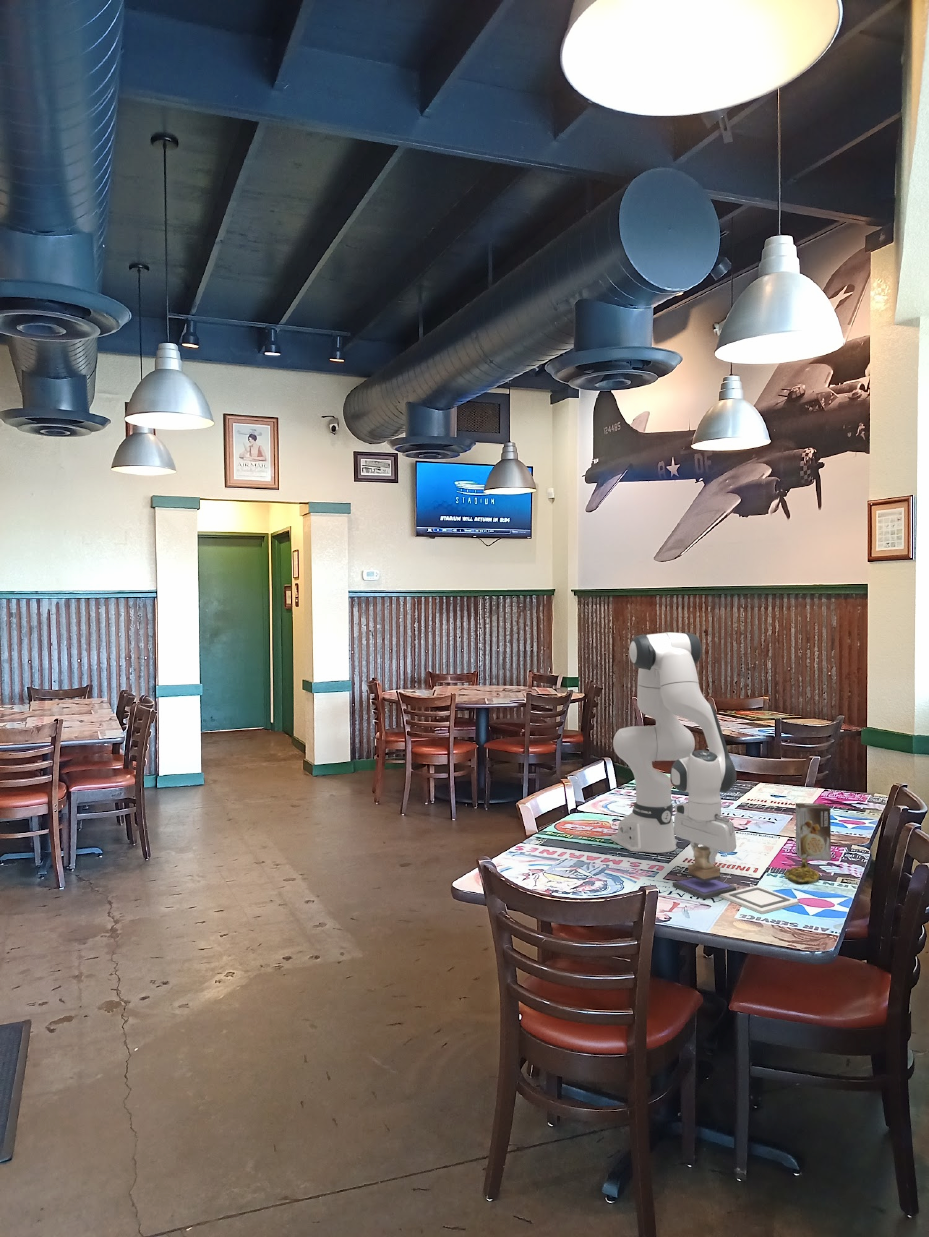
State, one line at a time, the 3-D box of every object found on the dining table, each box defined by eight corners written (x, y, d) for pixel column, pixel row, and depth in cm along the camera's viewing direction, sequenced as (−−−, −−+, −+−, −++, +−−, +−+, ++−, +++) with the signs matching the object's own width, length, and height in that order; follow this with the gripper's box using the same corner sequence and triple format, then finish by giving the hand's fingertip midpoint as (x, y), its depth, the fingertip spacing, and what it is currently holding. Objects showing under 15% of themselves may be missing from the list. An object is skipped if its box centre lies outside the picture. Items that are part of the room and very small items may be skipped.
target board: (720, 897, 234) (720, 893, 234) (757, 888, 241) (757, 884, 241) (761, 914, 222) (762, 910, 222) (799, 904, 229) (799, 900, 229)
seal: (817, 892, 242) (820, 875, 256) (819, 875, 242) (822, 859, 255) (782, 883, 246) (787, 867, 259) (784, 867, 246) (789, 852, 259)
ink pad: (672, 886, 243) (672, 881, 243) (704, 879, 249) (704, 874, 249) (704, 899, 233) (704, 894, 233) (736, 891, 239) (736, 886, 239)
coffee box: (825, 854, 272) (826, 803, 271) (831, 860, 265) (831, 808, 265) (794, 853, 273) (795, 802, 272) (799, 859, 267) (800, 807, 266)
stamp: (688, 875, 242) (688, 847, 241) (704, 872, 245) (704, 844, 244) (704, 882, 236) (704, 852, 236) (720, 878, 239) (720, 849, 239)
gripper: (741, 817, 233) (741, 868, 233) (686, 801, 250) (686, 849, 251) (724, 820, 229) (724, 872, 230) (670, 804, 247) (670, 852, 248)
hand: (704, 860), depth 240 cm, fingers closed on stamp, 4 cm apart
